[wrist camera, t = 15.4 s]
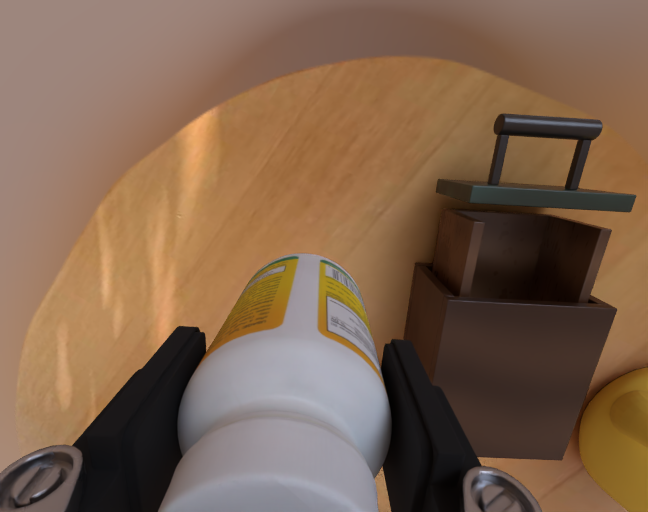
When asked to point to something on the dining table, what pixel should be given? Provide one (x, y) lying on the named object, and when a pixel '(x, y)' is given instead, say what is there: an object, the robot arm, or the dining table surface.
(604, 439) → the teapot
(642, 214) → the dining table surface
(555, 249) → the drawer
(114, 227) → the dining table surface
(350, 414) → the supplement bottle
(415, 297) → the cabinet
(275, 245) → the dining table surface
